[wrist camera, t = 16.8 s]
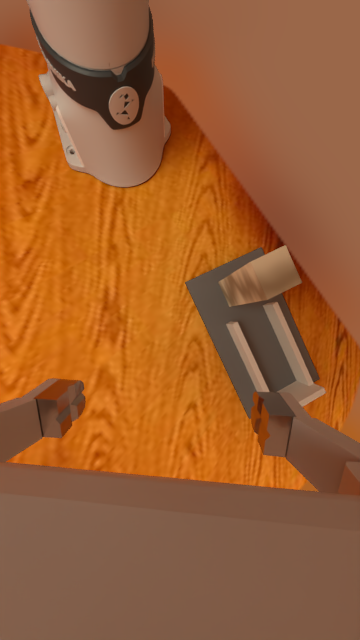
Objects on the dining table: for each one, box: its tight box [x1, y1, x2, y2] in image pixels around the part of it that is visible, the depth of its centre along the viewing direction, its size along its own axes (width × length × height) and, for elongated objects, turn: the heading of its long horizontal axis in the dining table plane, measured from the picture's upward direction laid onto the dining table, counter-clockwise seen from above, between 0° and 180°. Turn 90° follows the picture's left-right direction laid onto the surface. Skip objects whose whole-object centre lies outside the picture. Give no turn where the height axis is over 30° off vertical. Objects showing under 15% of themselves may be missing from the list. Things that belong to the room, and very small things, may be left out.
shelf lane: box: [185, 248, 326, 419], centre depth 33 cm, size 28×16×6 cm, turn 26°
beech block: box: [218, 245, 302, 307], centre depth 28 cm, size 5×5×12 cm
